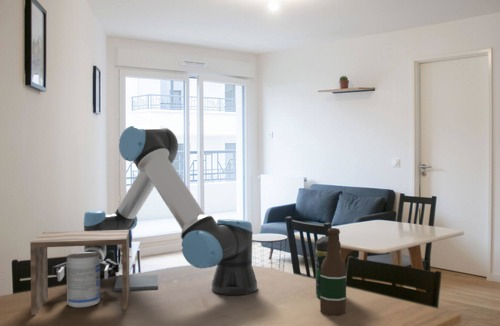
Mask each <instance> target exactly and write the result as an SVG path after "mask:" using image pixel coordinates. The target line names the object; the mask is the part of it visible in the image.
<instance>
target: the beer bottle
mask: <svg viewBox="0 0 500 326" xmlns="http://www.w3.org/2000/svg"><path fill="white" fill-rule="evenodd" d="M327 234H328V235H327V237H328V248H327V255H326V257H325V259H324V260H323V262H322V265H321V278H320V297H319V299H320V302H319V303H320V304H319V307H320V313H321V314H323V315H325V316H331V317H340V316H344V315H346V311H347V267H346V264H345V262H344V259H343V258H342V255H341V256H340V246H341V245H340V246H339V241H340V234H341V231H340V229H339V228H336V227H330V228H328V229H327Z"/></svg>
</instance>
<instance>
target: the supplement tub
mask: <svg viewBox="0 0 500 326" xmlns="http://www.w3.org/2000/svg"><path fill="white" fill-rule="evenodd" d="M65 262H67V263H66V266H67V274H66V304H67V305H68V306H69V307H72V308H79V309H80V308H87V307H92V306H95V305H98V304H99V303H100V302H101V270H100V258H99V254H98V253H95V252H84V251H83V252H75V253H70V254H68V255H67V256H66V261H65Z"/></svg>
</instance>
